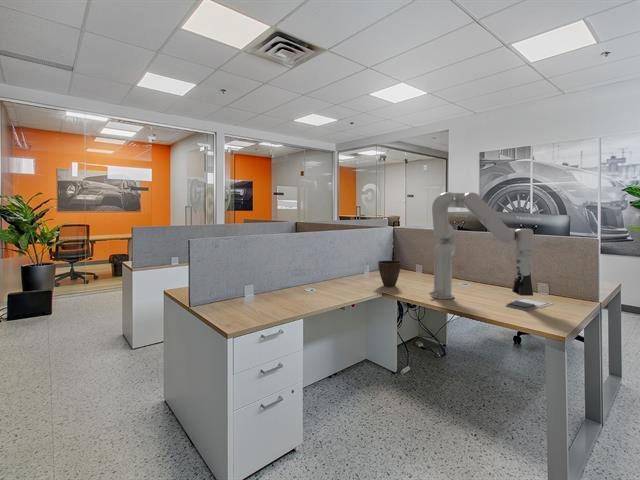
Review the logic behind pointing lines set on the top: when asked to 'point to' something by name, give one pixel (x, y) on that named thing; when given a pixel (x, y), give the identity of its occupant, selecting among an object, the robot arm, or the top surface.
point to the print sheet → (533, 302)
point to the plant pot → (389, 272)
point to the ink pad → (521, 305)
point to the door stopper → (524, 286)
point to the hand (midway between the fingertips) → (522, 287)
